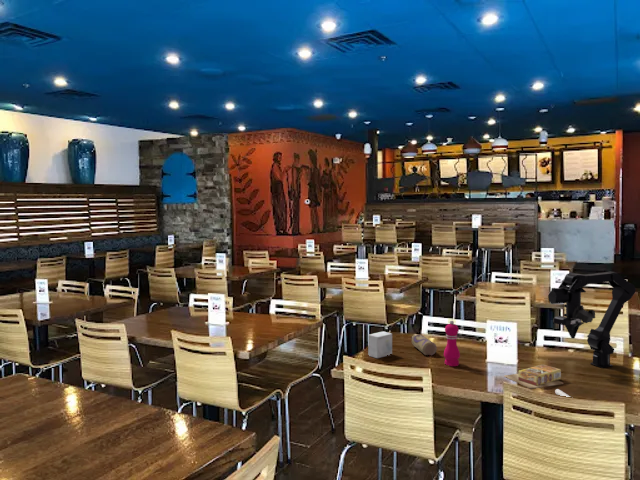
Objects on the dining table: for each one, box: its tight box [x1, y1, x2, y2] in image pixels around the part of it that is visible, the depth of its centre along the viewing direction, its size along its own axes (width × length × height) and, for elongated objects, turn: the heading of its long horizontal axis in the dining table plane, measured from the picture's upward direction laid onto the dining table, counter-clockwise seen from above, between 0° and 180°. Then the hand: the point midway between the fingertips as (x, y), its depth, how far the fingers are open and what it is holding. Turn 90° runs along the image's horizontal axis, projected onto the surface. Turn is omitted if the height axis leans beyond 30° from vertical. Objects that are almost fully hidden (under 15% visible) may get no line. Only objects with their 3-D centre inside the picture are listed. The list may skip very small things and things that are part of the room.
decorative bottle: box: [411, 334, 438, 356], centre depth 269 cm, size 26×8×7 cm, turn 8°
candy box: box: [517, 364, 562, 386], centre depth 218 cm, size 9×4×15 cm
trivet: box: [503, 373, 564, 390], centre depth 219 cm, size 16×16×1 cm
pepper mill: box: [443, 320, 461, 367], centre depth 241 cm, size 7×7×20 cm
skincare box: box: [367, 330, 393, 359], centre depth 258 cm, size 10×6×10 cm, turn 129°
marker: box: [554, 388, 572, 397], centre depth 194 cm, size 18×2×2 cm, turn 5°
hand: (572, 338), depth 233 cm, fingers closed
